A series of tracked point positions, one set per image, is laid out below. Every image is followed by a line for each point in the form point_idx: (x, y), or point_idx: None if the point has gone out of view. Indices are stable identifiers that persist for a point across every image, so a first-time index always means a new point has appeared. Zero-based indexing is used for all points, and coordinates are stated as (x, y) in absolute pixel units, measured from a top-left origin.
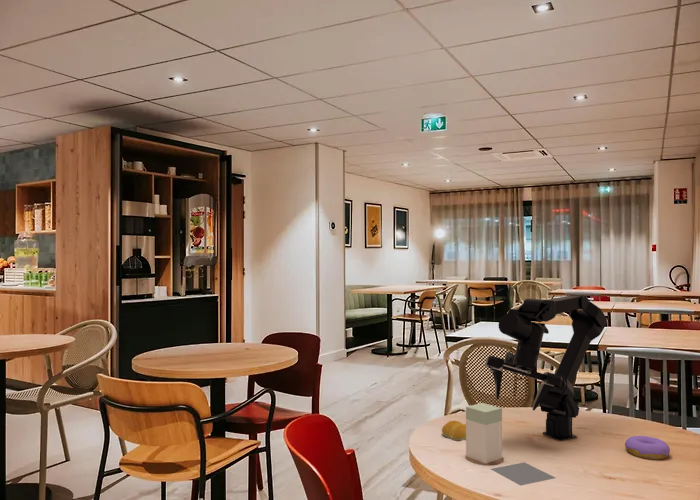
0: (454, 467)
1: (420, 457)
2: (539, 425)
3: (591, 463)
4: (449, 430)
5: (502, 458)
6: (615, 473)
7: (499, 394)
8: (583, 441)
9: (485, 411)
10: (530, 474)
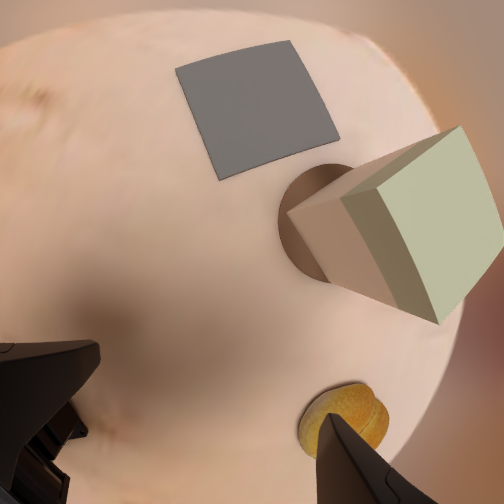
0: None
1: None
2: (91, 481)
3: (27, 191)
4: (381, 411)
5: (285, 209)
6: (16, 126)
7: (334, 428)
8: None
9: (460, 139)
10: (238, 89)
